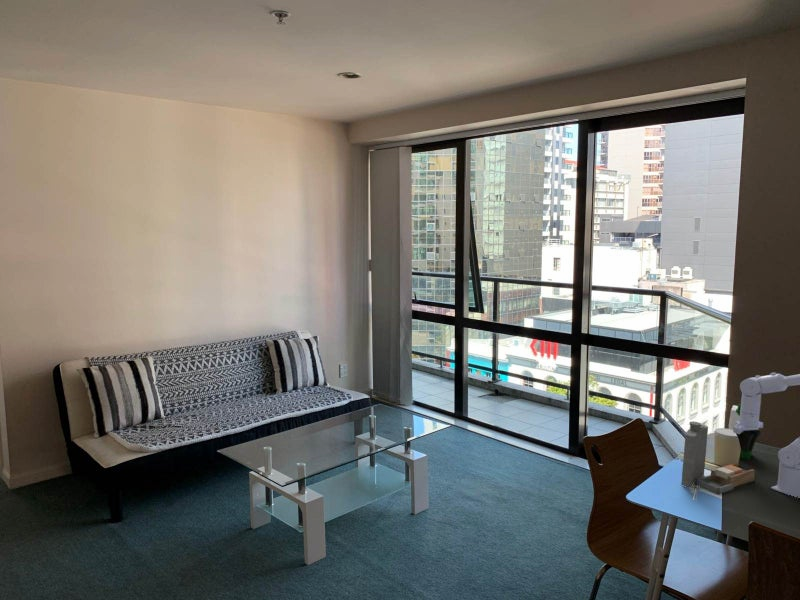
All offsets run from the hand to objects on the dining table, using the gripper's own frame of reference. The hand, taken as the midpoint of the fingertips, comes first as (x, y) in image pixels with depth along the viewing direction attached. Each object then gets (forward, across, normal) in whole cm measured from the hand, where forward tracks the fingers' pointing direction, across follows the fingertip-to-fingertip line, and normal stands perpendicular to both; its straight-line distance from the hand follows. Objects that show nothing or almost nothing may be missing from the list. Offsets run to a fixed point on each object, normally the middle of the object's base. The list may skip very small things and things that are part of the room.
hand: (746, 450), depth 204 cm
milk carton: (+10, -20, -13) cm, 26 cm away
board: (+9, +7, 0) cm, 12 cm away
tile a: (+7, +7, 0) cm, 10 cm away
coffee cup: (+10, -6, -10) cm, 15 cm away
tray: (+9, +18, 0) cm, 20 cm away
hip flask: (+10, +19, -7) cm, 22 cm away
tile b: (+7, +12, 0) cm, 13 cm away
